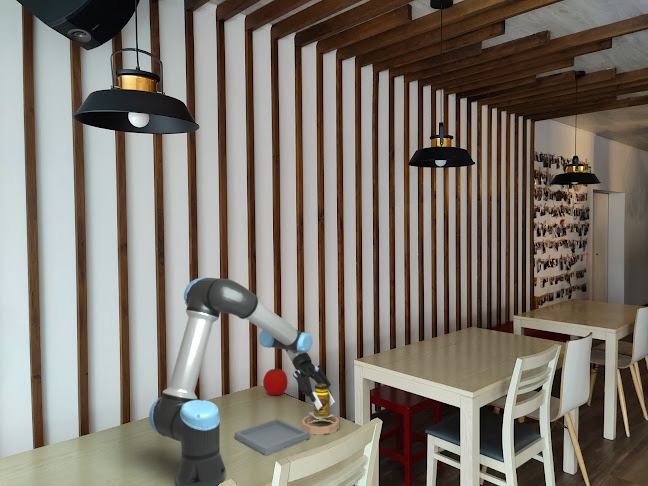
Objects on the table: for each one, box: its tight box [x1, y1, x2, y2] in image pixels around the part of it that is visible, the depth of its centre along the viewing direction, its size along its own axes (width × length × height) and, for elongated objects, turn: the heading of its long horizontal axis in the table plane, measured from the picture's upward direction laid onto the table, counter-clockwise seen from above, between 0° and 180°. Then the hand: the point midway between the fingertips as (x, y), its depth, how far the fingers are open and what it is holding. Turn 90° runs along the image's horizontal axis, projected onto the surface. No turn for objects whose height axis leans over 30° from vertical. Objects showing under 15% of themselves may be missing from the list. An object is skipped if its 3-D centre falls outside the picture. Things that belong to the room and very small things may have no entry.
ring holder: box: [301, 414, 340, 434], centre depth 191 cm, size 14×14×3 cm
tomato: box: [262, 368, 288, 396], centre depth 233 cm, size 12×12×13 cm
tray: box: [234, 418, 310, 457], centre depth 181 cm, size 20×20×2 cm
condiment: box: [308, 383, 335, 419], centre depth 191 cm, size 7×8×12 cm
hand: (326, 405), depth 188 cm, fingers closed on condiment, 6 cm apart
